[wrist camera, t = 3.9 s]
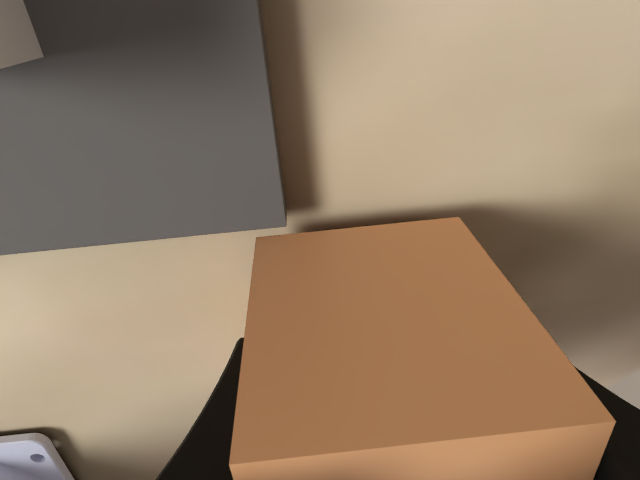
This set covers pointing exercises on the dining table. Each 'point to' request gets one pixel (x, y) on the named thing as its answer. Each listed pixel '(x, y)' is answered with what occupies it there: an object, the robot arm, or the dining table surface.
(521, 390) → the peach tan brick
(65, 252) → the dining table surface
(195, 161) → the post board
